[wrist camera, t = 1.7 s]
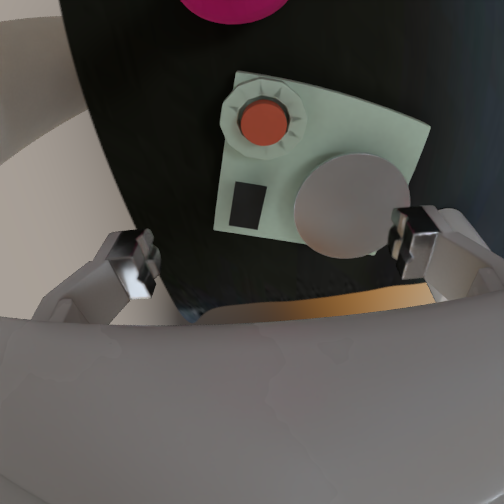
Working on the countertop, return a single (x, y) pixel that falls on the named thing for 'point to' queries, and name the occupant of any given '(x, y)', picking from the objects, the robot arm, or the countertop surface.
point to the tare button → (263, 122)
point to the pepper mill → (233, 9)
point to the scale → (304, 145)
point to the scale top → (336, 204)
